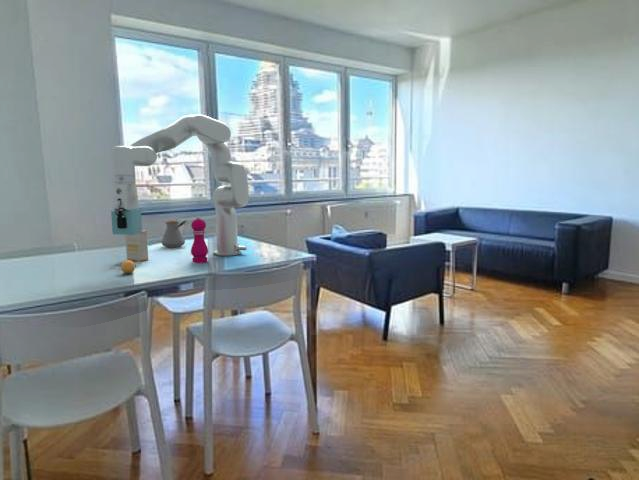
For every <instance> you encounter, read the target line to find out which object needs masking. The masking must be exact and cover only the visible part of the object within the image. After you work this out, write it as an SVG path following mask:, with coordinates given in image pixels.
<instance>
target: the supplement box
mask: <svg viewBox="0 0 639 480" xmlns="http://www.w3.org/2000/svg"><path fill="white" fill-rule="evenodd" d="M147 234H148V233H147V230H146V229H145V230H143V229H142V232H140V233H137V234H133V235H125V248H126V249H125V250H126V251H125V252H126V260H130V261H132V262H145V261H148V260H149V251H148V250H149V249H148V235H147Z"/></svg>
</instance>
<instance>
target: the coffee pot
mask: <svg viewBox="0 0 639 480" xmlns="http://www.w3.org/2000/svg"><path fill="white" fill-rule="evenodd" d="M165 225H166V228H165V231H164V234H163V236H162V238H161V245H162V246H163V247H165V249H179V248H182V246H184V245H185V243H186V239H185V238H184V236H183V234H182V231H181V230H180V227H181V226H183V225H188V223H187V220H183V221H182V222H180V221H176V220H175V221H172V220H171V221H170V220H169V221H166V222H165Z"/></svg>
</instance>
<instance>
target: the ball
mask: <svg viewBox="0 0 639 480" xmlns="http://www.w3.org/2000/svg"><path fill="white" fill-rule="evenodd" d="M135 268H136V265H135V263H134V261H131V260H127V259H126V260H124V261H123V262H122V263H121V265H120V269H121V271H122V272H123V273H125V274H131V273H133V272H134V270H135Z"/></svg>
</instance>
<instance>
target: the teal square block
mask: <svg viewBox="0 0 639 480" xmlns="http://www.w3.org/2000/svg"><path fill="white" fill-rule="evenodd" d="M121 212H122V213H123V211H121ZM110 213H111V229H112V235H120V236H121V235H122V236H123V235H133V234H137V233H140V232H142V230H143V227H142V226H143V223H142V208H138V209H135V210H130V211H127V210H126V211H125V218H126V226H127V228H118V227H117V217H116V214H115V210H114V209H113V210H111V211H110Z"/></svg>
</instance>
